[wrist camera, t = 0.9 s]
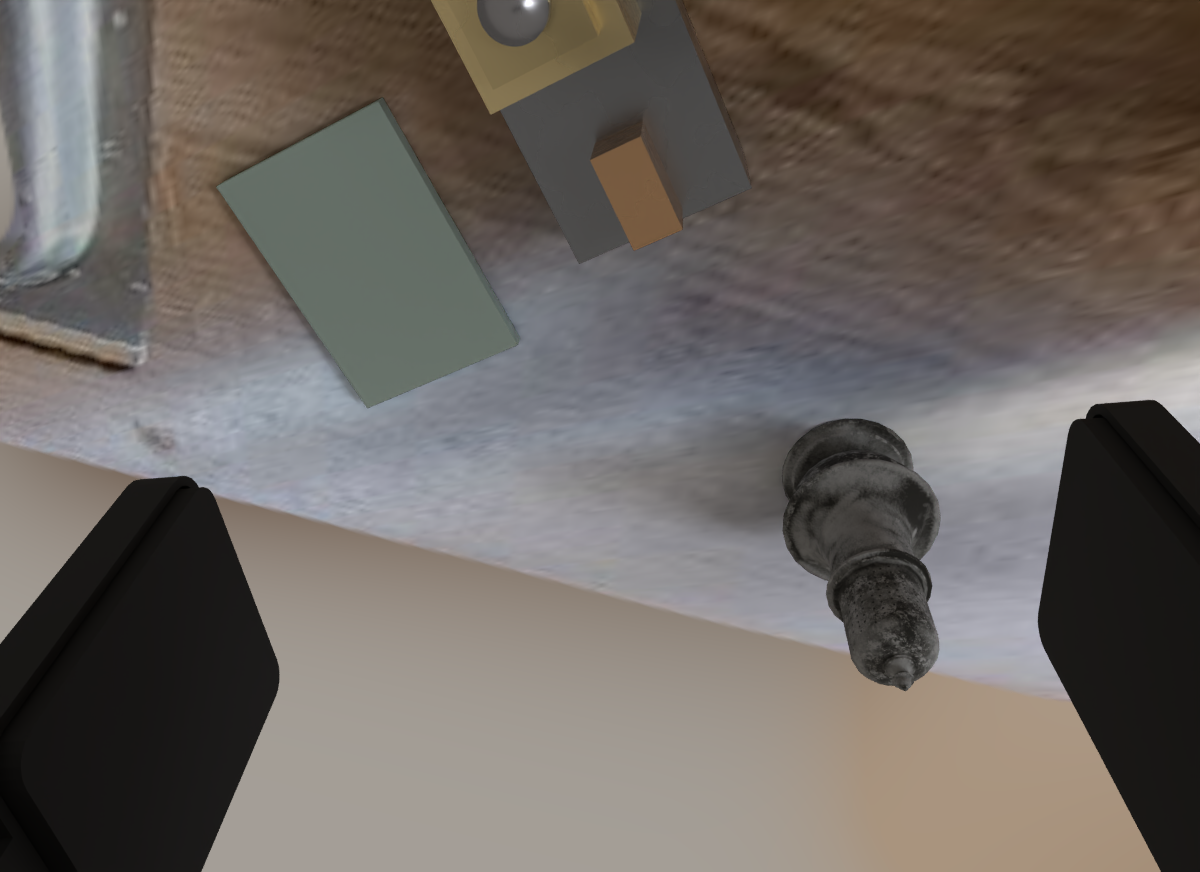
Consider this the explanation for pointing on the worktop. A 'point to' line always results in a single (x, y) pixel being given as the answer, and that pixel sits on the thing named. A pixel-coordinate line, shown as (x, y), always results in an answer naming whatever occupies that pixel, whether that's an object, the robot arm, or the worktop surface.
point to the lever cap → (533, 40)
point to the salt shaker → (866, 542)
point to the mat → (371, 255)
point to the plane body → (632, 139)
